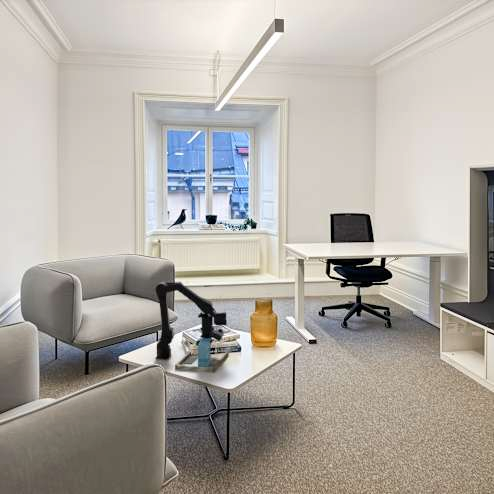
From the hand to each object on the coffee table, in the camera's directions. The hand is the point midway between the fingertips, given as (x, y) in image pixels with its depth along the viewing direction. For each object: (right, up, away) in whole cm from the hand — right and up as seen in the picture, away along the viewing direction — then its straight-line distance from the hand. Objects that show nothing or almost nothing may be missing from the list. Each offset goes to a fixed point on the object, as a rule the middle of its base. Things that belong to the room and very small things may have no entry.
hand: (207, 354), depth 246 cm
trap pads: (-2, -2, -7) cm, 8 cm away
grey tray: (-2, -2, -7) cm, 7 cm away
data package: (-1, -3, -11) cm, 11 cm away
